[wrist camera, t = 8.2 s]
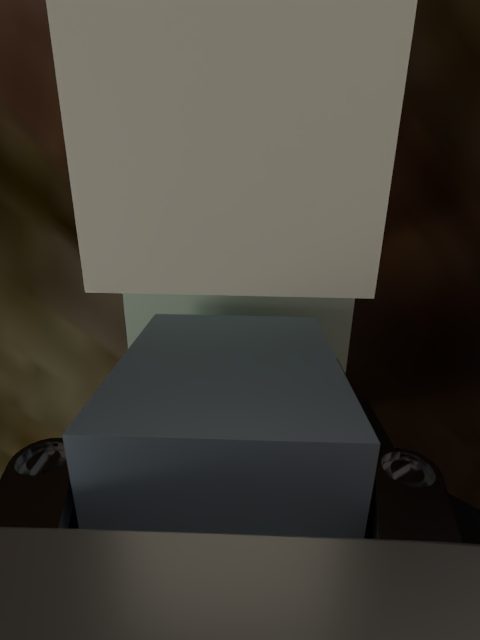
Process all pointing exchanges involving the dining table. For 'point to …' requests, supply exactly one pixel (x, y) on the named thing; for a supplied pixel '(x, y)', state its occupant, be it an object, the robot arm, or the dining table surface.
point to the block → (224, 433)
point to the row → (232, 151)
